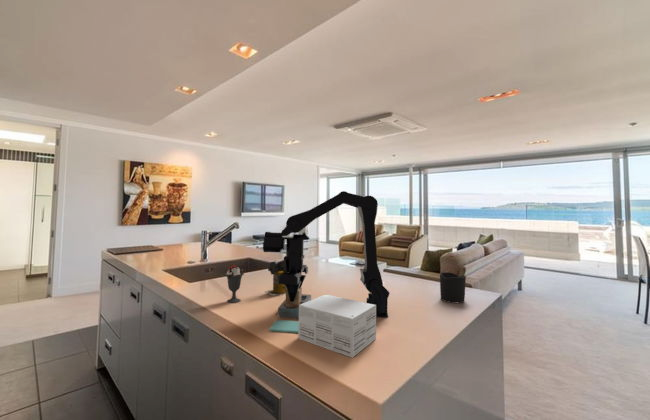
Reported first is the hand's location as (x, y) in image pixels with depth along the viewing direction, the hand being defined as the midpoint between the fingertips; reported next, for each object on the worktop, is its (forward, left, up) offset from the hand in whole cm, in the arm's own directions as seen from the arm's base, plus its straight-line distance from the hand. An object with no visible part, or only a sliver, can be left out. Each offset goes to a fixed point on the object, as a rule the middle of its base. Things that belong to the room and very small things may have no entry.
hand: (293, 299), depth 92 cm
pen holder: (-59, -26, -5) cm, 65 cm away
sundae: (+25, -9, -5) cm, 27 cm away
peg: (0, 0, -5) cm, 5 cm away
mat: (-1, +11, -4) cm, 12 cm away
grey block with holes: (0, -4, -4) cm, 6 cm away
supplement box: (-16, +16, -5) cm, 23 cm away
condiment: (+12, -23, -5) cm, 26 cm away
